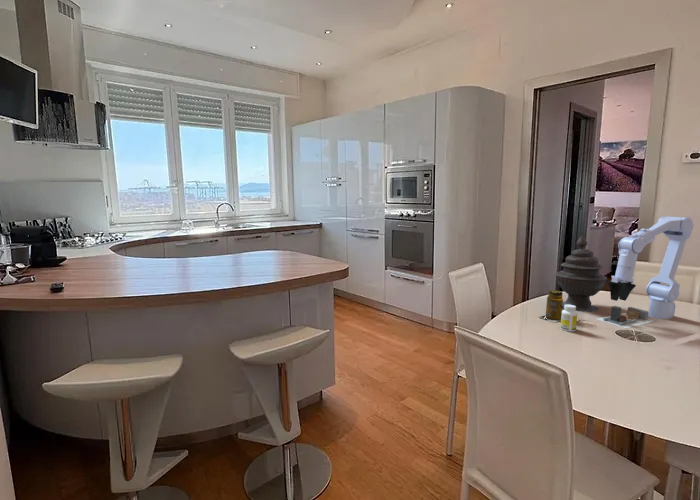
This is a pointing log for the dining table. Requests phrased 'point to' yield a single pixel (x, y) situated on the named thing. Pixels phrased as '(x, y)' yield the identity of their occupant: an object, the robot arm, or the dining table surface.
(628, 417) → the dining table surface
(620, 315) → the carriage
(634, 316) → the nut
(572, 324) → the supplement bottle
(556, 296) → the condiment
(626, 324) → the board
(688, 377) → the dining table surface
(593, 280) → the decorative urn
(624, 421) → the dining table surface
